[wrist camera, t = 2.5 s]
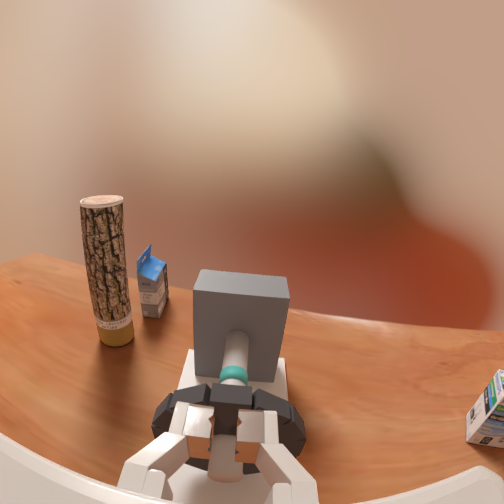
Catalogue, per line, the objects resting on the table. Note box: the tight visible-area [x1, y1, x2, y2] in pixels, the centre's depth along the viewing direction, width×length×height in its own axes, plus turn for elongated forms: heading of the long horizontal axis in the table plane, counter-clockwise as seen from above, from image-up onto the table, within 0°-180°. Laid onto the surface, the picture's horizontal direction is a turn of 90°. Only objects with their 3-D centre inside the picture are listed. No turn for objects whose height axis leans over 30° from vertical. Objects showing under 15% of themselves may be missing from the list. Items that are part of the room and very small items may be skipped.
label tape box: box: [137, 245, 169, 318], centre depth 57 cm, size 9×4×12 cm, turn 1°
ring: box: [151, 383, 306, 475], centre depth 23 cm, size 14×2×14 cm, turn 89°
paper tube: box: [80, 195, 134, 347], centre depth 43 cm, size 7×7×25 cm
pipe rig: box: [168, 269, 290, 504], centre depth 31 cm, size 16×28×16 cm, turn 179°
